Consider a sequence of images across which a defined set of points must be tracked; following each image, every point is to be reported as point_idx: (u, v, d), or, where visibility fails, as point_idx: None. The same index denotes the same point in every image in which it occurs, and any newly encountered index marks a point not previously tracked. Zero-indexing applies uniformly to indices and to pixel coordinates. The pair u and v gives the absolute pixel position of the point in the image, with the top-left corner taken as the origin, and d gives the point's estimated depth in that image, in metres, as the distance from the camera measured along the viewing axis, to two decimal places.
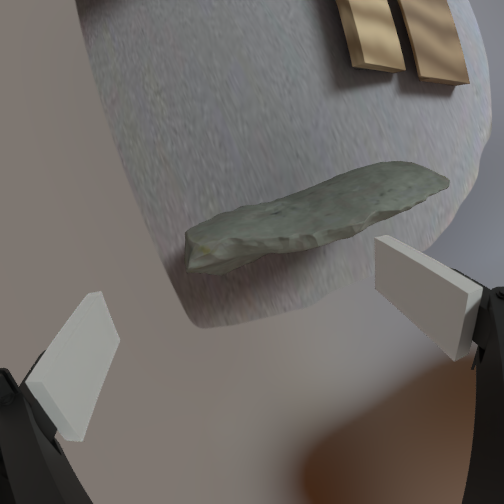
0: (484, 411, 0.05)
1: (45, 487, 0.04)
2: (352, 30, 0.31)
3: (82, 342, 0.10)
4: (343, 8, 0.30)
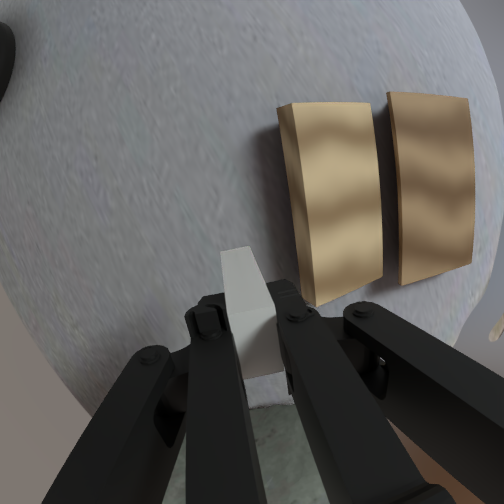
0: (315, 447, 0.06)
1: (232, 441, 0.05)
2: (306, 253, 0.27)
3: None
4: (297, 209, 0.26)
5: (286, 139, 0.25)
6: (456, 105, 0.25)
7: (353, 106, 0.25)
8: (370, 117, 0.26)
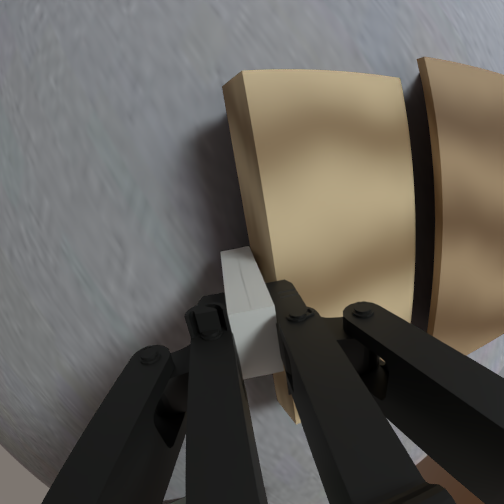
0: (315, 447, 0.06)
1: (233, 440, 0.05)
2: None
3: None
4: (263, 279, 0.14)
5: (239, 145, 0.13)
6: None
7: (372, 81, 0.12)
8: (402, 103, 0.13)
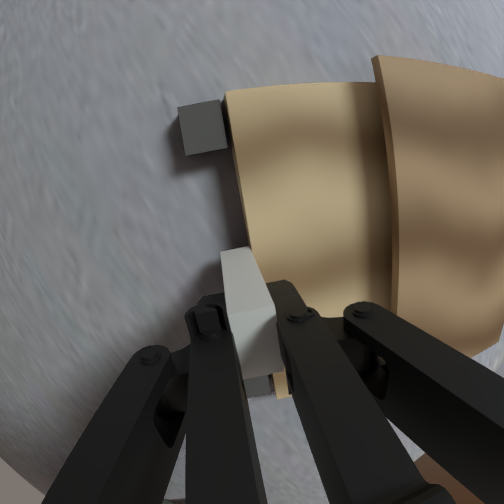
0: (315, 447, 0.06)
1: (233, 440, 0.05)
2: None
3: None
4: None
5: (232, 151, 0.15)
6: (496, 90, 0.12)
7: (359, 88, 0.13)
8: None
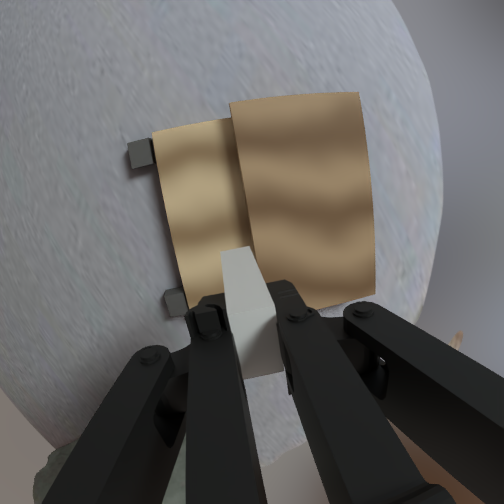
0: (315, 447, 0.06)
1: (233, 440, 0.05)
2: None
3: None
4: None
5: None
6: (337, 103, 0.24)
7: (228, 121, 0.25)
8: None
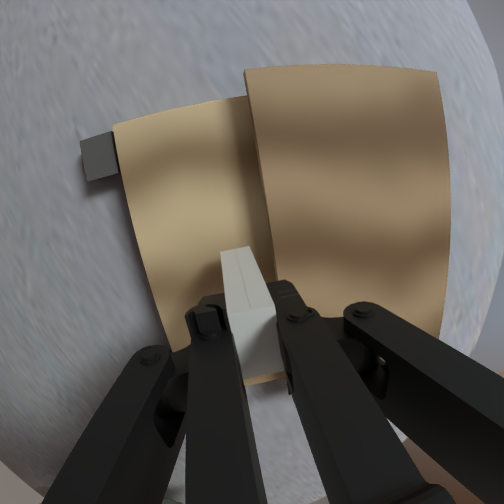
0: (315, 446, 0.06)
1: (232, 440, 0.05)
2: None
3: None
4: None
5: None
6: (411, 84, 0.14)
7: (237, 103, 0.15)
8: None
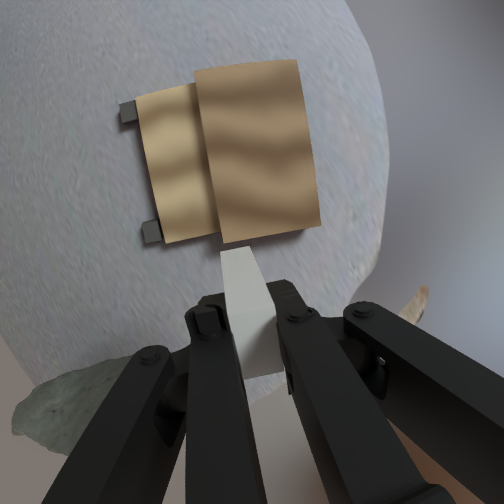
0: (315, 447, 0.06)
1: (232, 440, 0.05)
2: None
3: None
4: None
5: None
6: (278, 68, 0.30)
7: (191, 86, 0.31)
8: None
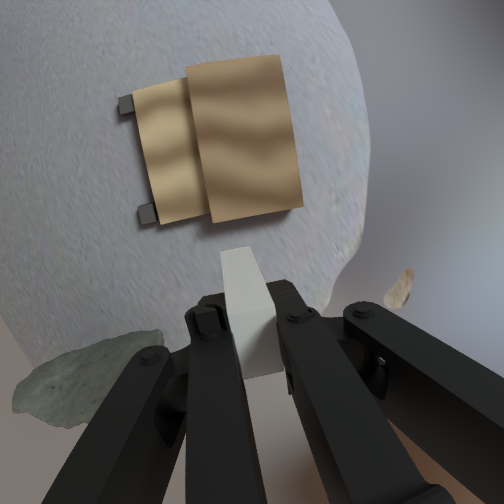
0: (315, 447, 0.06)
1: (233, 440, 0.05)
2: None
3: None
4: None
5: None
6: (262, 62, 0.33)
7: (183, 80, 0.34)
8: None
